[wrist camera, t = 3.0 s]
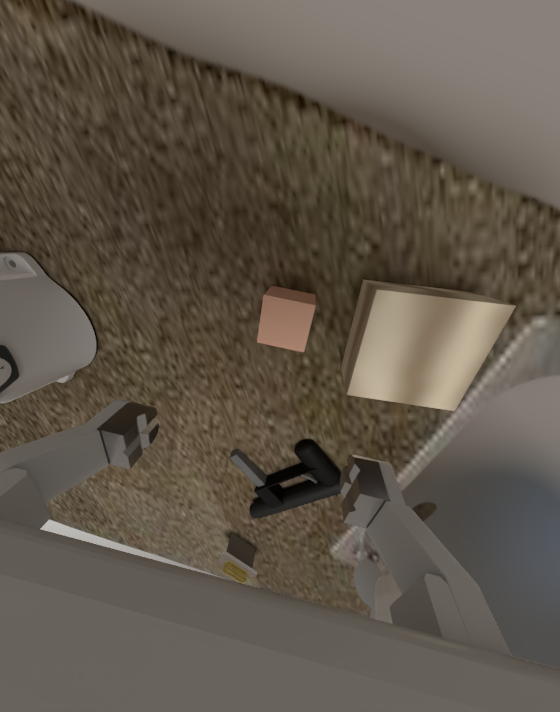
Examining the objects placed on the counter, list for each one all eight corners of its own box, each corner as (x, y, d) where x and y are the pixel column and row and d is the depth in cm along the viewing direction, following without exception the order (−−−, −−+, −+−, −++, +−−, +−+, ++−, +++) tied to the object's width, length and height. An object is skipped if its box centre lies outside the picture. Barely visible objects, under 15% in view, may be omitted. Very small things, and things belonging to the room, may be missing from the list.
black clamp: (203, 472, 39) (260, 526, 43) (297, 429, 32) (354, 499, 36) (212, 457, 42) (264, 509, 46) (299, 414, 35) (352, 480, 39)
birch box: (340, 367, 29) (346, 394, 24) (362, 279, 24) (377, 289, 19) (428, 379, 28) (454, 411, 23) (469, 291, 23) (516, 305, 18)
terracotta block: (265, 326, 28) (256, 342, 23) (271, 285, 26) (263, 294, 21) (305, 334, 28) (303, 352, 23) (315, 294, 25) (315, 305, 21)
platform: (250, 562, 58) (243, 597, 52) (198, 526, 53) (184, 561, 47) (285, 552, 53) (282, 590, 48) (231, 512, 49) (220, 549, 43)
